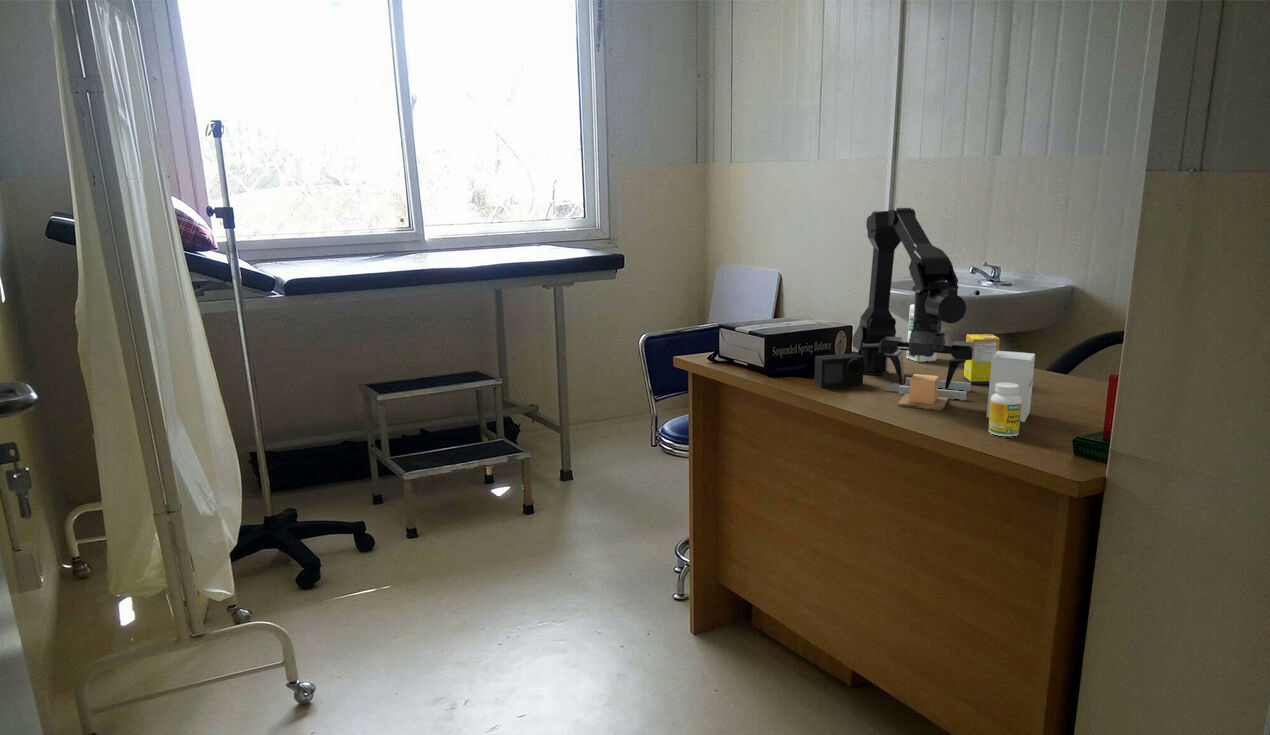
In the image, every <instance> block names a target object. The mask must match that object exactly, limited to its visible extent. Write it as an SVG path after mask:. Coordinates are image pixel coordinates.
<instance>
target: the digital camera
mask: <svg viewBox="0 0 1270 735" xmlns="http://www.w3.org/2000/svg"><path fill="white" fill-rule="evenodd" d="M864 370H865V365H864V357H863V356H861V355H859V354H858V352H857V353H840V354H827V355H825V354H824V355H815V358H814V385H816V386H817V387H818V388H820V389H828V388H829V389H831V388H846V387H857V386H859V387H860V386H863V385H864V374H863V373H864Z"/></svg>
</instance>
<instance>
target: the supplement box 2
mask: <svg viewBox="0 0 1270 735" xmlns="http://www.w3.org/2000/svg"><path fill="white" fill-rule="evenodd" d="M1035 359H1036V353H1033V352H1032V353H1030V352H1019V351H1004V350H999V351H997V352H996V353H995V354H994V356H993V357H992V359H991V371H990V383H989V384H988V386H989V387H988V394H987V395H988V398H987V408H986V409H987V410H986V418H988V419H989V416H990V401H991V396H992V395H993V394H995V393H997V392H996V391H995V386H996V383H1000V382H1009V383H1015V384H1018V385H1019V392H1018V393H1017V395H1018V396H1020V397H1021V399H1022V405H1021V417H1020V421H1021V422H1020V423H1025V422H1026V420H1027V418H1028V416H1029V415H1030V412H1031V402H1032V400H1031V399H1032V395H1033V394H1032V393H1033V381H1034V371H1035V361H1036V360H1035Z"/></svg>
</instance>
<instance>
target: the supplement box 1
mask: <svg viewBox="0 0 1270 735" xmlns="http://www.w3.org/2000/svg"><path fill="white" fill-rule="evenodd" d="M965 336H966V337H965V342H973V344H974V345H975V354H974V357H973V358H972V360H966V362H965V363H964V367H963V368H964V370H963V380H964V379H965V380H964V381H966V382H967V381H968V382H969V383H971V385H989V383H990V371H991V359H992V357H993V356H994V354H995V353H996V352H997V351H1000V338H999V337H998V336H995V335H994V334H992V333H991V334H990V333H989V334H988V333H984V334H983V333H982V334H981V333H979V334H978V333H973V334H972V333H971V334H970V333H969V334H968V333H967V334H966V335H965ZM968 382H967V383H968Z"/></svg>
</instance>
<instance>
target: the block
mask: <svg viewBox="0 0 1270 735" xmlns="http://www.w3.org/2000/svg"><path fill="white" fill-rule="evenodd" d="M910 378H911V379H910V392H909V402H915V403H925V404H934V403H935V401H936V399H937V391H938V380H939V375H932V374H931V375H930V374H917V373H914V374H913V375H912V376H911V377H910Z"/></svg>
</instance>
